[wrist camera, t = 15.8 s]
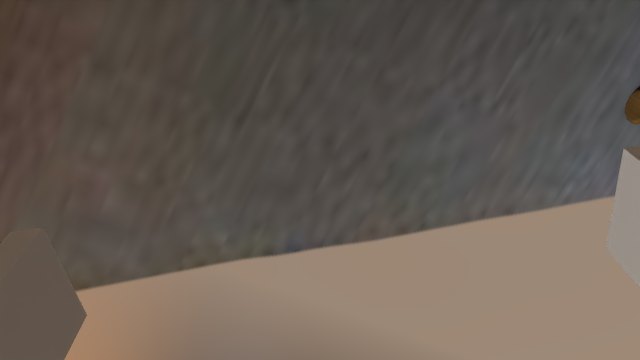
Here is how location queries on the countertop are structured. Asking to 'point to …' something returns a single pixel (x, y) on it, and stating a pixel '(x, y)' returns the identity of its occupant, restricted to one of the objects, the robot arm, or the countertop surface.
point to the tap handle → (633, 108)
